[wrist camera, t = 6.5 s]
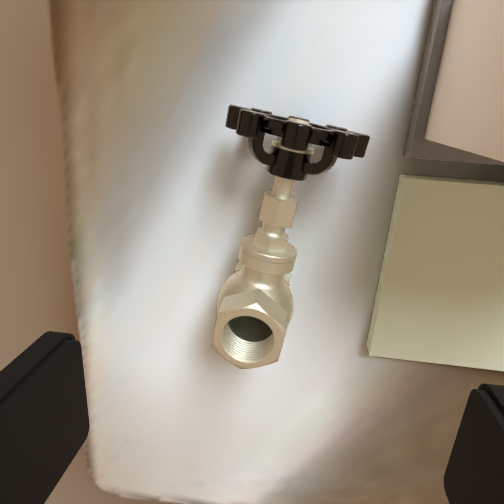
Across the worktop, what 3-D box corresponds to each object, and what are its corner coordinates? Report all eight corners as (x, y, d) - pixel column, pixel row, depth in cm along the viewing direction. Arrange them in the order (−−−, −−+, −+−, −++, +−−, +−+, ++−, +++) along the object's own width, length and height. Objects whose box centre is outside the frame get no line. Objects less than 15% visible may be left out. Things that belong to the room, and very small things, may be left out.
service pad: (400, 174, 21) (405, 178, 20) (616, 191, 20) (635, 196, 19) (366, 344, 25) (369, 355, 24) (545, 364, 24) (557, 377, 23)
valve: (303, 319, 25) (359, 130, 21) (304, 389, 19) (385, 142, 15) (204, 296, 25) (239, 103, 21) (175, 357, 19) (214, 104, 15)
